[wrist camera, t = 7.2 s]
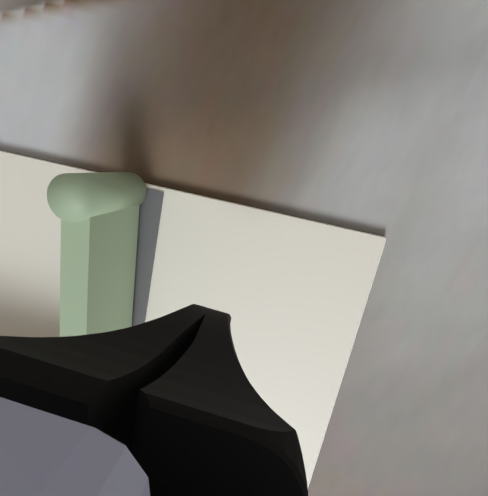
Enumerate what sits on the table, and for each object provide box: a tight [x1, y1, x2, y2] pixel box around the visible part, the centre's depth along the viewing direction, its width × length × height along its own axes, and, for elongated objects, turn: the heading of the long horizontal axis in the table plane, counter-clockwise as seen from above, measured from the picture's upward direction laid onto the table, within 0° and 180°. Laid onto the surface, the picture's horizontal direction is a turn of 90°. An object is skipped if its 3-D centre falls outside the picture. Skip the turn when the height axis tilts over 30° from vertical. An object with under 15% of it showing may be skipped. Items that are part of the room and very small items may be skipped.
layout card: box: [0, 150, 387, 487], centre depth 20 cm, size 22×20×1 cm
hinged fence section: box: [47, 172, 146, 337], centre depth 17 cm, size 13×2×5 cm, turn 172°
